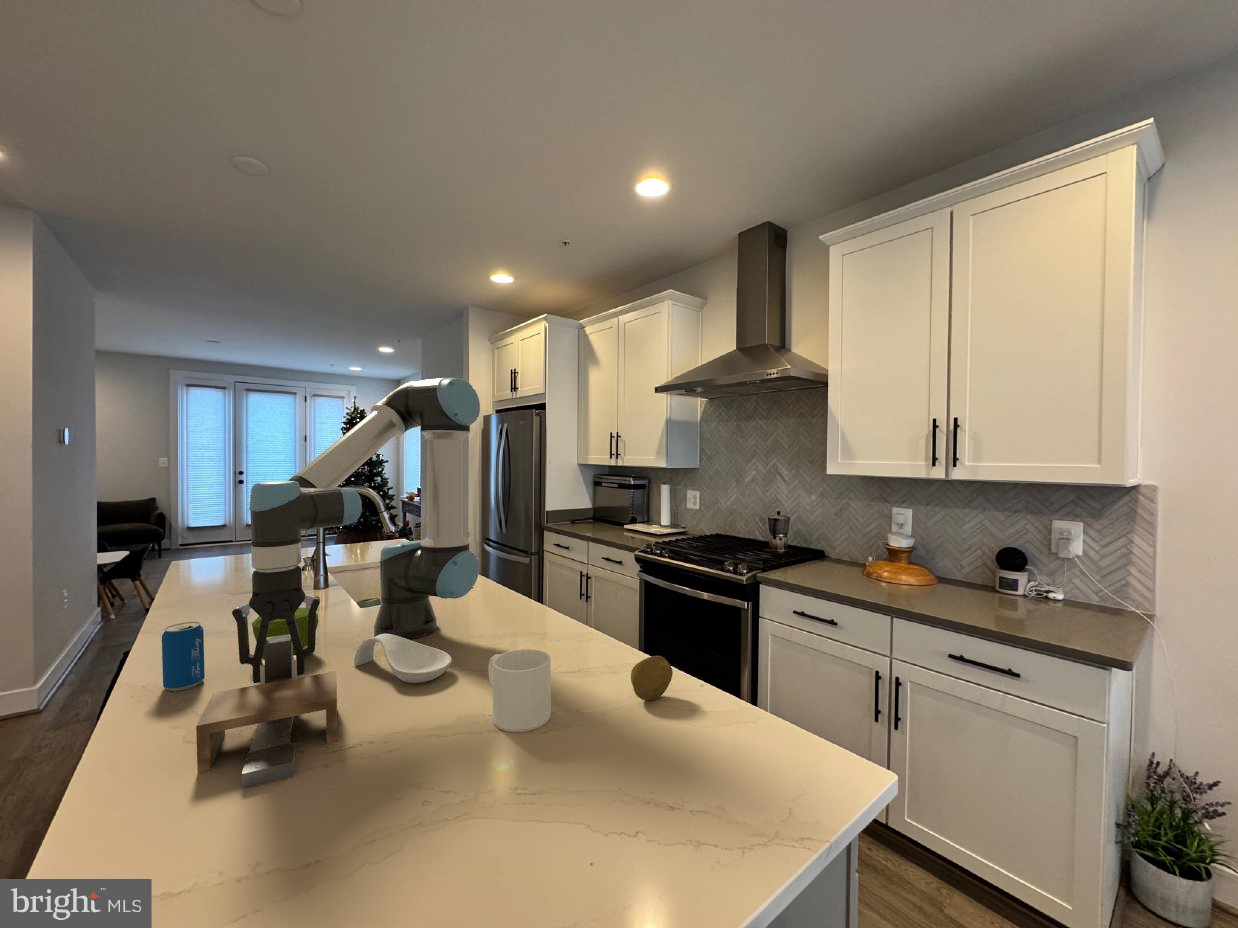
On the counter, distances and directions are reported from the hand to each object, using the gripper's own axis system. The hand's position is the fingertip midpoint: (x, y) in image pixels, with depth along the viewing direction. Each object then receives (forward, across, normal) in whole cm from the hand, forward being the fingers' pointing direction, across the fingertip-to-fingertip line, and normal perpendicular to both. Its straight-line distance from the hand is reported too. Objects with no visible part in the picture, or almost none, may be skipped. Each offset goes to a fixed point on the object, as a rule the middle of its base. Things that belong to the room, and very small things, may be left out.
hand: (279, 695), depth 96 cm
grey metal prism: (+2, 0, +8) cm, 8 cm away
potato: (+3, -61, +28) cm, 67 cm away
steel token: (+3, 0, +21) cm, 21 cm away
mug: (+3, -37, +22) cm, 43 cm away
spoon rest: (+3, -21, -8) cm, 23 cm away
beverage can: (+3, +18, -22) cm, 28 cm away
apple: (+3, +1, -28) cm, 29 cm away
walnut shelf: (+3, 0, +10) cm, 11 cm away
